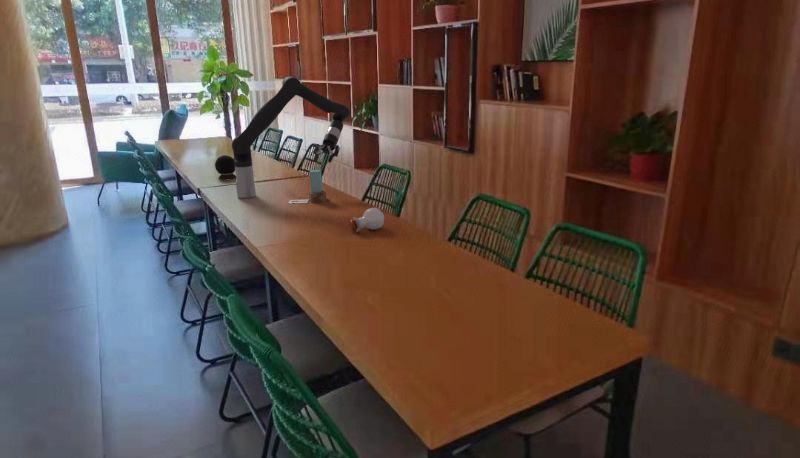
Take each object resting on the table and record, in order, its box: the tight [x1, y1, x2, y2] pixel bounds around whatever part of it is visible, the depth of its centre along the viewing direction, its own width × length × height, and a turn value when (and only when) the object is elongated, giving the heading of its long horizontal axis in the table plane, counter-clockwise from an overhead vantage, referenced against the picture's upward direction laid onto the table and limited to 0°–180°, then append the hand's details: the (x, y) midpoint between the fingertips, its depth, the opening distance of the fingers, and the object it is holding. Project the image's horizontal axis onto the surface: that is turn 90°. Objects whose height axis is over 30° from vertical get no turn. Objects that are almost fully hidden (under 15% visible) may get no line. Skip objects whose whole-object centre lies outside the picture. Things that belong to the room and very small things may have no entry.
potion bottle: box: [348, 207, 385, 234], centre depth 221 cm, size 9×10×15 cm
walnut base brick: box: [308, 188, 327, 204], centre depth 275 cm, size 8×8×5 cm
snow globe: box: [214, 154, 236, 181], centre depth 337 cm, size 13×13×15 cm
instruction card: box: [287, 198, 310, 205], centre depth 273 cm, size 10×7×1 cm
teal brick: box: [308, 169, 324, 193], centre depth 272 cm, size 5×5×11 cm
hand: (322, 161), depth 278 cm, fingers open, 8 cm apart
